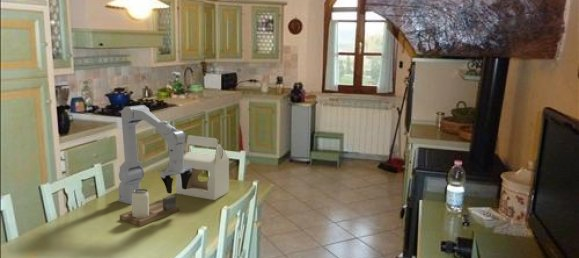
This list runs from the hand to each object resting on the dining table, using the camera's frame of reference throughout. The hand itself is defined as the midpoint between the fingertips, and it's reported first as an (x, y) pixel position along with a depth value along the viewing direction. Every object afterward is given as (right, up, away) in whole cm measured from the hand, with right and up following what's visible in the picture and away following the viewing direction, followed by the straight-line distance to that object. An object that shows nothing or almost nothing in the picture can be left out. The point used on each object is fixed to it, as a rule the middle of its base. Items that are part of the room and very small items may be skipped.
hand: (176, 190), depth 188 cm
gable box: (+5, -5, +30) cm, 31 cm away
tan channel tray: (-11, -10, -1) cm, 15 cm away
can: (-13, -11, -5) cm, 18 cm away
